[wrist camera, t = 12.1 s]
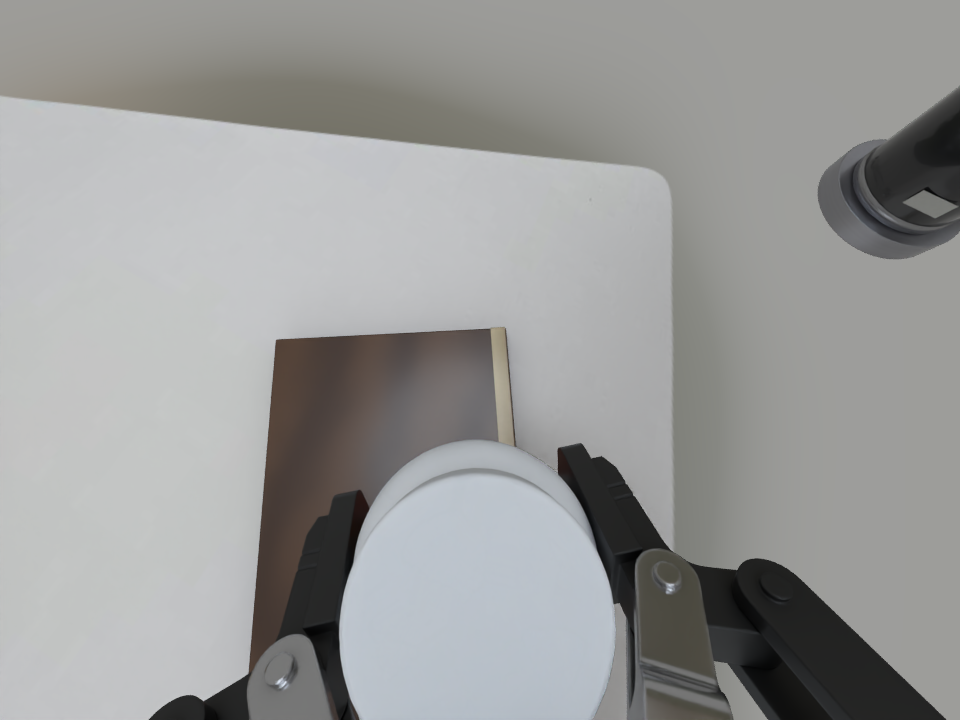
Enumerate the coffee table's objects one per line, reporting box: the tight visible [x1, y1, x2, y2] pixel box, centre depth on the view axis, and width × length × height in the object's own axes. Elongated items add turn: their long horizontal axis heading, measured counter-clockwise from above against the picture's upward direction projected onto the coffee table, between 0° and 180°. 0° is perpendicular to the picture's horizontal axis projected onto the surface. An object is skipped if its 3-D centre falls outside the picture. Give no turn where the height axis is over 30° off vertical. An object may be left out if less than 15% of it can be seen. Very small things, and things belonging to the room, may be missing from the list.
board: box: [249, 327, 516, 673], centre depth 23 cm, size 16×22×2 cm
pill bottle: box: [339, 440, 616, 720], centre depth 11 cm, size 6×6×11 cm
